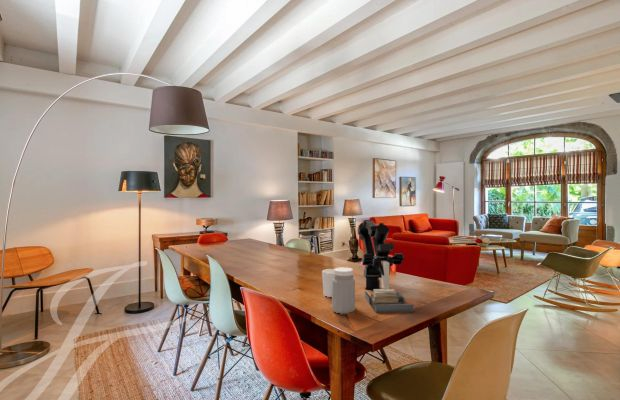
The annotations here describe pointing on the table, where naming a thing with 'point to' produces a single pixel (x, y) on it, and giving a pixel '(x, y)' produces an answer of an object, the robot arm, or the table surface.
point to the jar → (343, 290)
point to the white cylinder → (327, 281)
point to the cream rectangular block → (385, 275)
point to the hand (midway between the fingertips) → (386, 275)
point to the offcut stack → (384, 295)
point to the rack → (390, 305)
